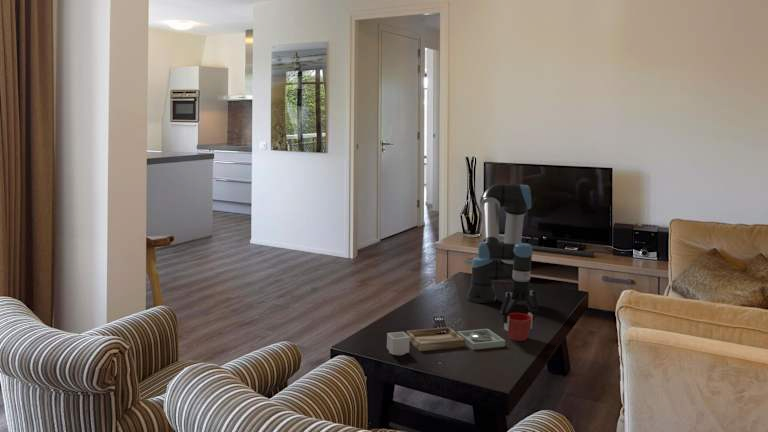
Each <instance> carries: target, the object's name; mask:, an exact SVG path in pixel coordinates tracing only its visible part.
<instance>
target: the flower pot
mask: <svg viewBox="0 0 768 432" xmlns="http://www.w3.org/2000/svg"><path fill="white" fill-rule="evenodd" d="M508 316H510V319H509V331H507V335H508V338H509V339H510V340H513V341H518V342H522V341H526V340H527V339H528V336H529V334H530V333H529V332H530V330H531V329H530V325H531V320H532V317H531V316H529V315H528V313H523V312H522V313H521V312H512V313H511V312H510V313H509V315H508Z"/></svg>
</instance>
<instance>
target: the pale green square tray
mask: <svg viewBox="0 0 768 432" xmlns="http://www.w3.org/2000/svg"><path fill="white" fill-rule="evenodd" d="M472 332H485V333H488V334H490V335H491V339H490V340H488V341H478V340H474V339H472V338H470V334H471V333H472ZM456 333H457V334H459V335H460V336H461V337H462V338H464V339H465V345H466V347H469V348H470V349H471V351H472V350H473V351H474V350H482V349H483V350H484V349H492V348H501V347H506V339H504V338H502V337H501V336H499V335H498V334H496V333H495V332H494V331H492V330H491V329H489V328H480V329H470V330H460V331H459V330H458V331H456Z"/></svg>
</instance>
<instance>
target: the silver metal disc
mask: <svg viewBox="0 0 768 432" xmlns="http://www.w3.org/2000/svg"><path fill="white" fill-rule="evenodd" d="M470 338H472V339H474V340H478V341H488V340H490V339H491V335H490V334H488V333H485V332H472V333H471V334H470Z"/></svg>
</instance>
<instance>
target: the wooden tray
mask: <svg viewBox="0 0 768 432" xmlns="http://www.w3.org/2000/svg"><path fill="white" fill-rule="evenodd" d="M441 331H446V332H447V333H445V334H437V333H438V332H441ZM405 334H406V335H407V336H408V337H410V341H409V343H411V344H412V345H413V346H414V348H416V349H417V350H418V351H420V352H426V351H436V350H437V351H438V350H447V349H455V348H456V349H457V348H463V347H466V346H465V345H466V344H465V339H464V338H462V337H461V336H460V335H459V334H457V331H455V330H453V329H452V328H451V327H450V326H445V327H436V328H435V327H434V328H424V329H423V328H422V329H412V330H406V332H405Z"/></svg>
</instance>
